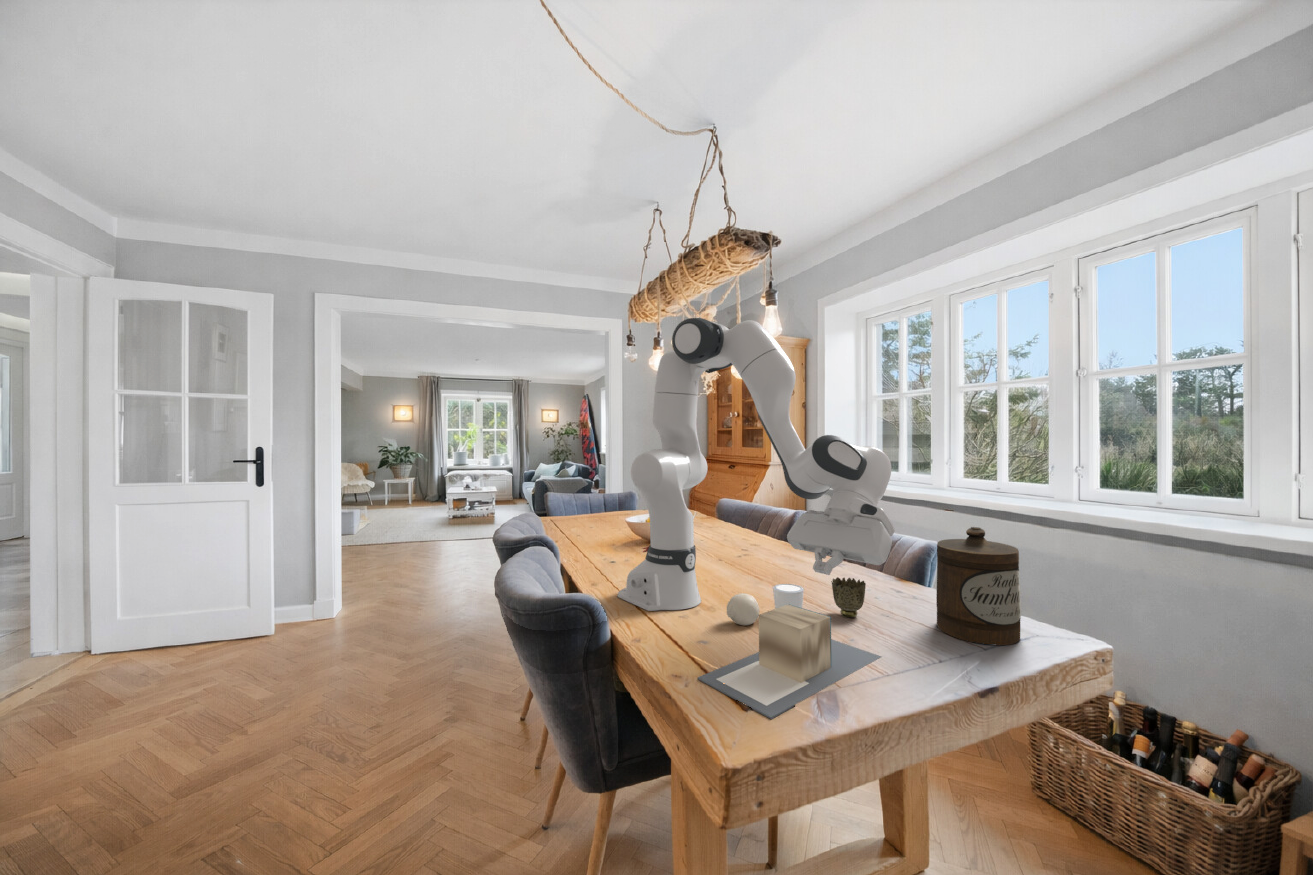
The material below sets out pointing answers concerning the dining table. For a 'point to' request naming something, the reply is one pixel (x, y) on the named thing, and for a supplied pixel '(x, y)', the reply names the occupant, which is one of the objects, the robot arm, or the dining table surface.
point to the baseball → (743, 609)
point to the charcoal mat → (782, 680)
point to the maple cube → (795, 642)
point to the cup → (848, 595)
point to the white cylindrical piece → (788, 595)
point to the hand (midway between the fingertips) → (820, 571)
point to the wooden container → (978, 589)
